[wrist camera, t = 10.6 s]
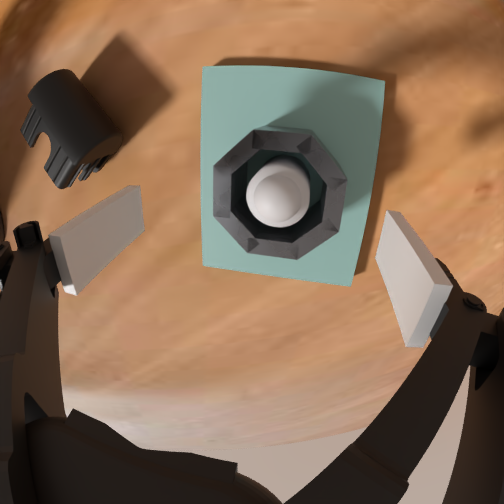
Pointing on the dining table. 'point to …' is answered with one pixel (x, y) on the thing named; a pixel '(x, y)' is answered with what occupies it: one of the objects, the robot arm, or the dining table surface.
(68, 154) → the end cap
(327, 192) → the collar
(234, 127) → the post stand
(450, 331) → the robot arm
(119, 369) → the dining table surface
